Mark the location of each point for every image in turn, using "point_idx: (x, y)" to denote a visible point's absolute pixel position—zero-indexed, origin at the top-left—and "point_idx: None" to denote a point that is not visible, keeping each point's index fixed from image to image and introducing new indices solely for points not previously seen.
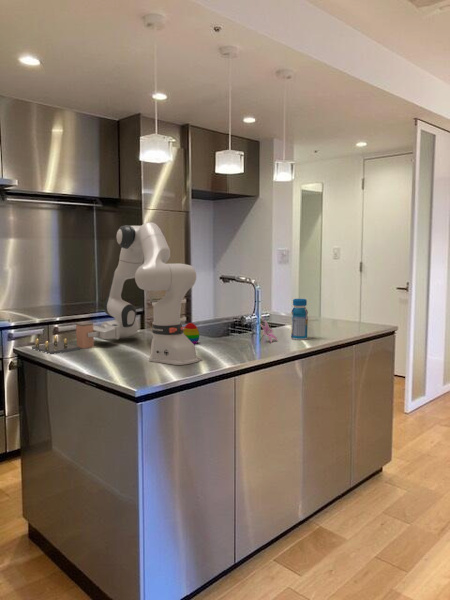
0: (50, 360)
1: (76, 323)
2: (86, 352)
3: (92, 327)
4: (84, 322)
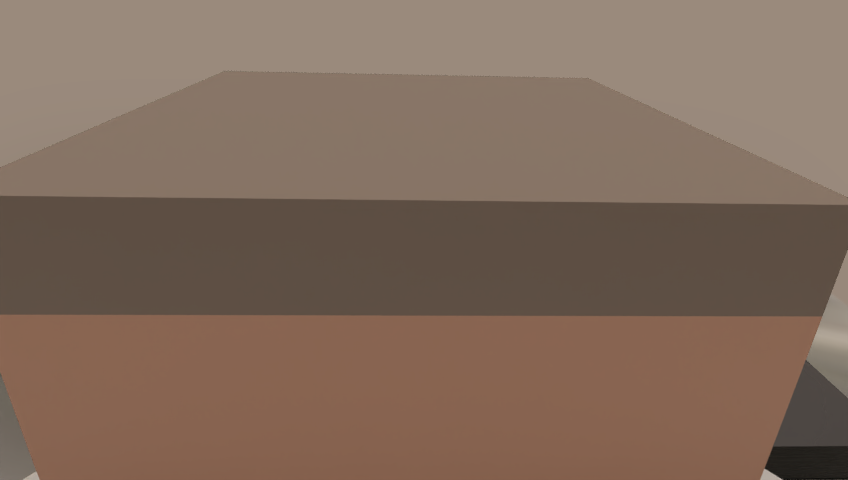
0: None
1: (577, 79)
2: (11, 444)
3: (63, 410)
4: (727, 152)
